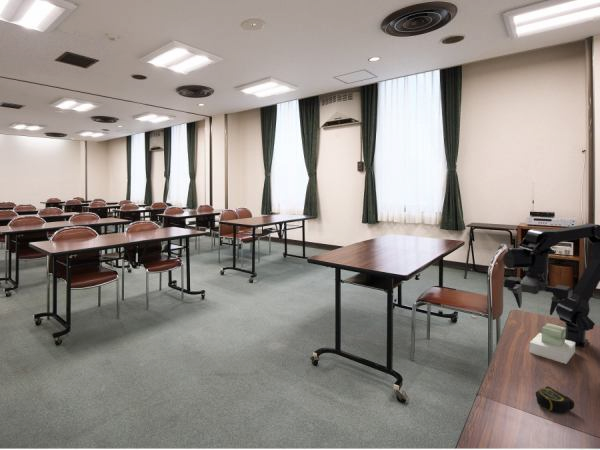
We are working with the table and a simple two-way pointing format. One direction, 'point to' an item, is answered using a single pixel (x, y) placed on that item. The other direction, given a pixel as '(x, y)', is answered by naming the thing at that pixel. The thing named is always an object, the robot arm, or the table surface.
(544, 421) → the table surface
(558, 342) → the green cube
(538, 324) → the table surface
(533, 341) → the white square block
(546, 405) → the tape measure
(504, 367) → the table surface
